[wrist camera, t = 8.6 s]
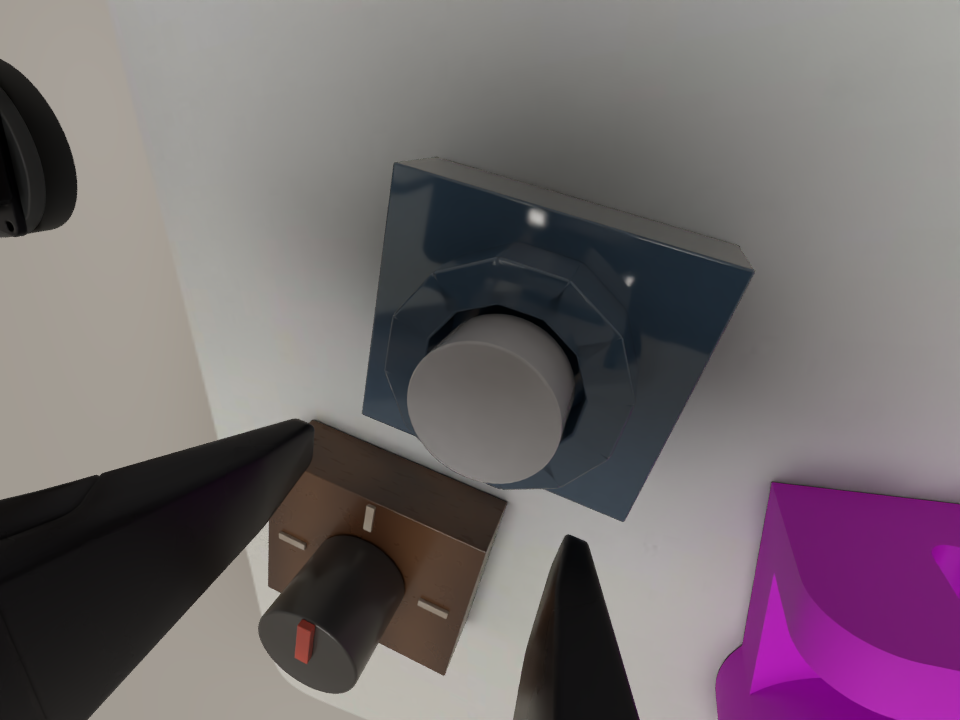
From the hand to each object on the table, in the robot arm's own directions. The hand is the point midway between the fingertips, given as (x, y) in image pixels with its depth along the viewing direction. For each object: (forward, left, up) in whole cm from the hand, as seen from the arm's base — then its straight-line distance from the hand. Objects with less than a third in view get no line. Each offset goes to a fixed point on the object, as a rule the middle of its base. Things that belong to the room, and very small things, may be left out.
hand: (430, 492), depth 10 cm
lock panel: (-4, -13, -10) cm, 17 cm away
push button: (0, 0, -5) cm, 5 cm away
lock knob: (-4, -13, -6) cm, 15 cm away
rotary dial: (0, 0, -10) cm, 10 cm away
